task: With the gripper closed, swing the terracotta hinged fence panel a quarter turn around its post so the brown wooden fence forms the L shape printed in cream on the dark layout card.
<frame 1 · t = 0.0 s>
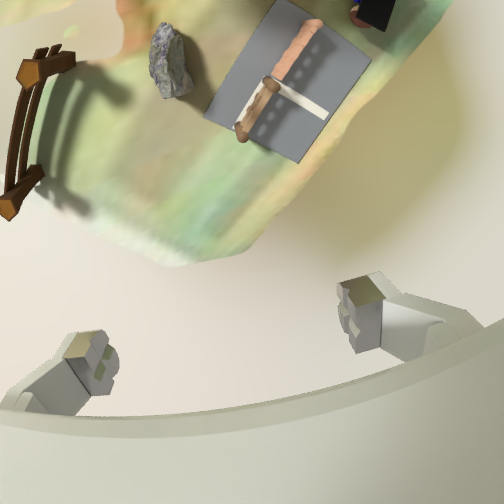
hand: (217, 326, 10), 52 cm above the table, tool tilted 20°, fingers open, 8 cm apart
hinged fence panel: (295, 47, 43), point 4 cm above the table, hinge at 0.0°
layout card: (290, 82, 51), on the table
mineral rock: (174, 59, 45), on the table
fixed fence section: (267, 80, 50), resting on layout card
decorative fence: (47, 121, 47), on the table
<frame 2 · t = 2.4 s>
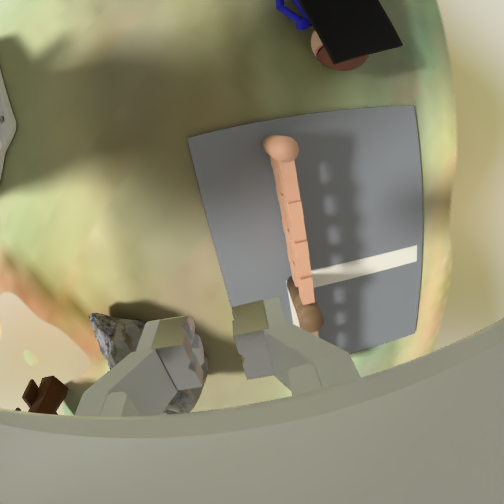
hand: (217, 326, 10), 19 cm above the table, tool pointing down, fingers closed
hinged fence panel: (291, 217, 24), point 4 cm above the table, hinge at 0.0°
figurine character: (305, 6, 21), on the table
layout card: (330, 255, 30), on the table
mineral rock: (154, 337, 33), on the table
fixed fence section: (296, 282, 31), resting on layout card
decorative fence: (97, 435, 41), on the table
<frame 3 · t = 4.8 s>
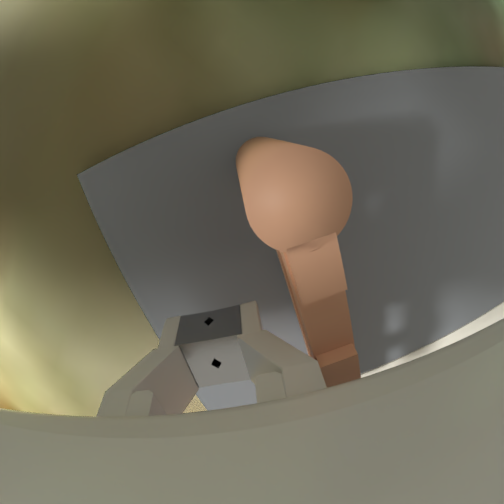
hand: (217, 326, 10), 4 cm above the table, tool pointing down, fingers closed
hinged fence panel: (320, 339, 10), point 4 cm above the table, hinge at 0.0°, touching gripper
layout card: (386, 346, 16), on the table
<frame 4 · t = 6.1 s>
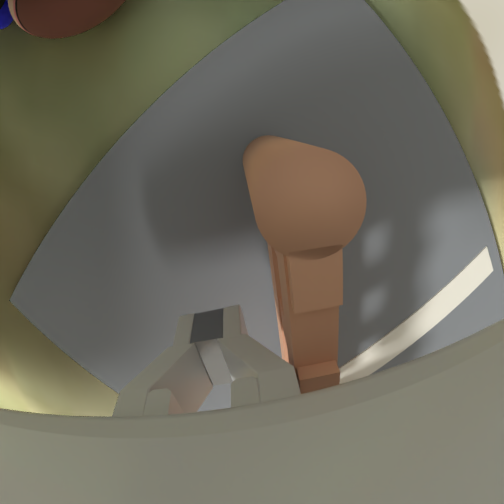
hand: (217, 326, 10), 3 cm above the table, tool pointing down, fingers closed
hinged fence panel: (299, 350, 10), point 4 cm above the table, hinge at 32.8°, touching gripper
layout card: (332, 350, 15), on the table
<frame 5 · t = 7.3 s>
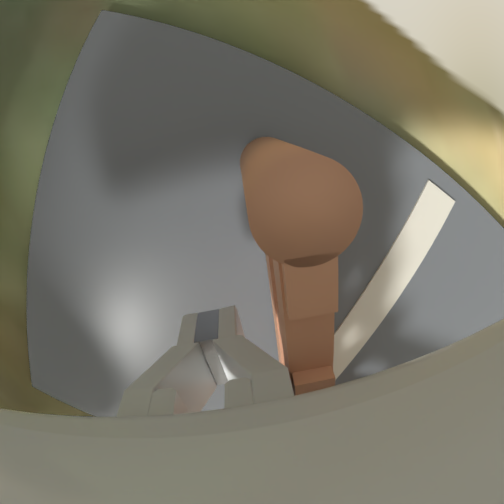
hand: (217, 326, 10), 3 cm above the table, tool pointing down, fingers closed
hinged fence panel: (296, 353, 10), point 4 cm above the table, hinge at 57.0°, touching gripper
layout card: (296, 350, 15), on the table
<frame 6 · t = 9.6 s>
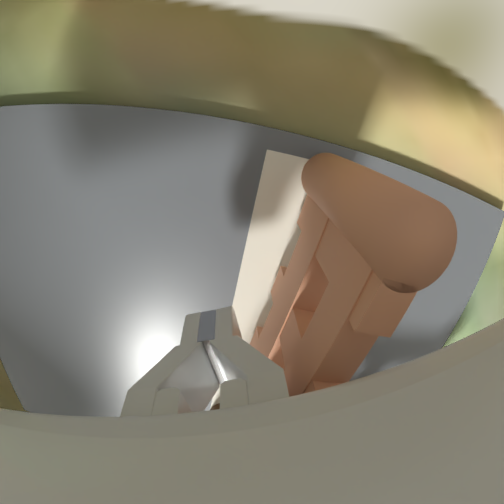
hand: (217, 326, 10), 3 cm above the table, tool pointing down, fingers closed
hinged fence panel: (284, 362, 10), point 4 cm above the table, hinge at 95.0°, touching gripper
layout card: (200, 355, 15), on the table
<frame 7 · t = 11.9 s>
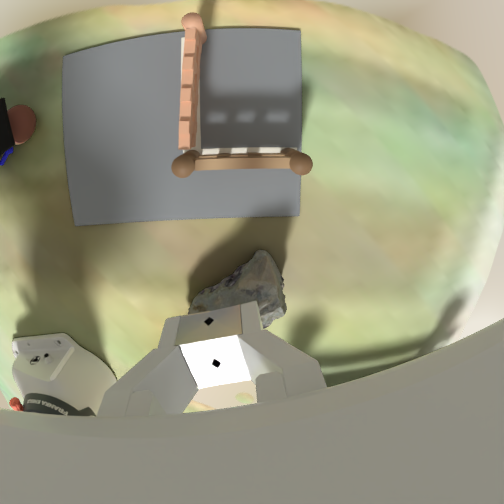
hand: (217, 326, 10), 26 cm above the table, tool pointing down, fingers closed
hinged fence panel: (191, 82, 26), point 4 cm above the table, hinge at 93.9°
figurine character: (5, 140, 29), on the table
layout card: (173, 124, 31), on the table
mineral rock: (231, 284, 39), on the table
fixed fence section: (192, 158, 32), resting on layout card
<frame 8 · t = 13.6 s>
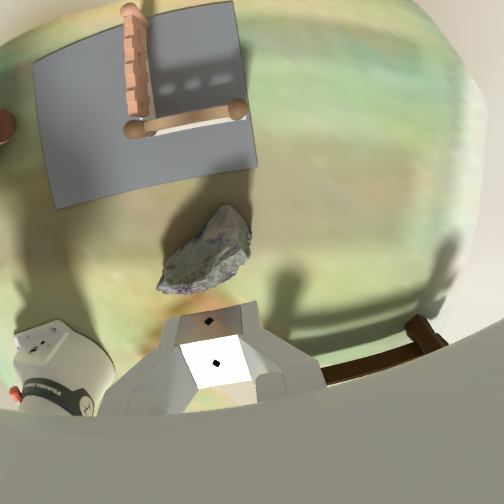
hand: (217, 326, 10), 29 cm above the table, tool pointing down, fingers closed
hinged fence panel: (136, 61, 26), point 4 cm above the table, hinge at 93.9°
layout card: (130, 102, 32), on the table
mineral rock: (203, 245, 40), on the table
fixed fence section: (149, 129, 33), resting on layout card
decorative fence: (351, 341, 48), on the table
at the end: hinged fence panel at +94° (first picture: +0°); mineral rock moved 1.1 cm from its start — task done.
